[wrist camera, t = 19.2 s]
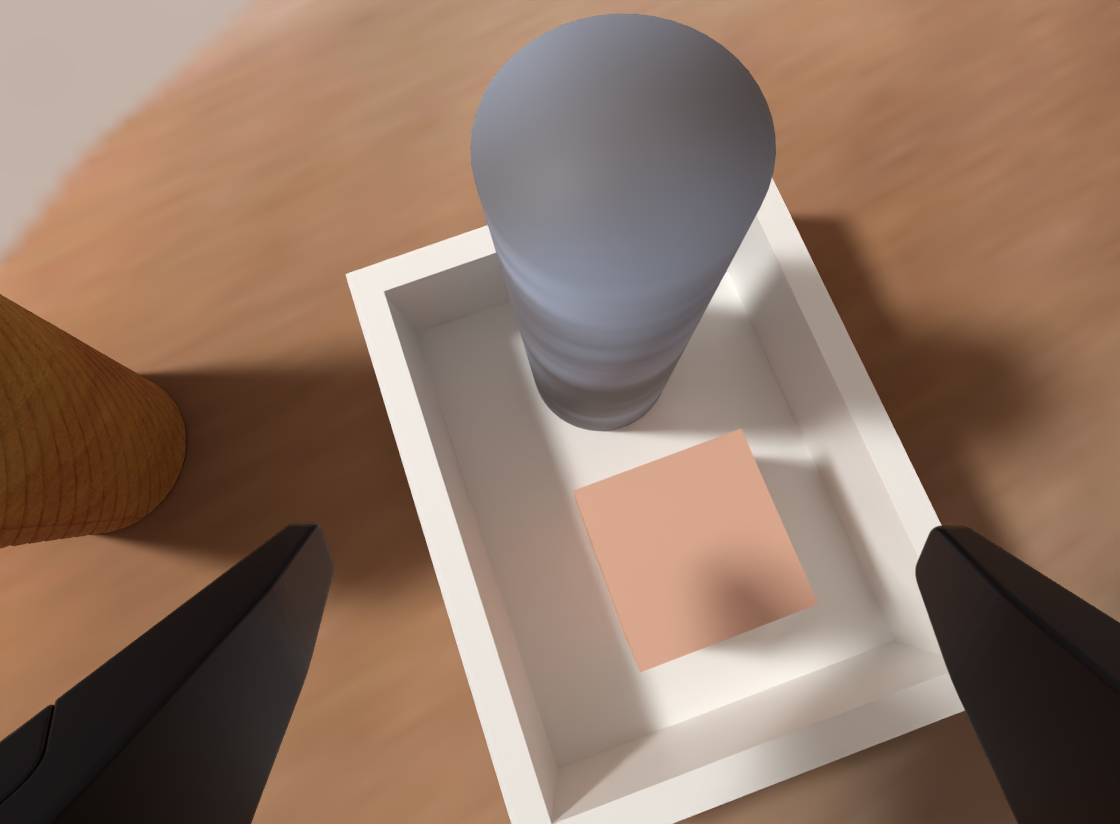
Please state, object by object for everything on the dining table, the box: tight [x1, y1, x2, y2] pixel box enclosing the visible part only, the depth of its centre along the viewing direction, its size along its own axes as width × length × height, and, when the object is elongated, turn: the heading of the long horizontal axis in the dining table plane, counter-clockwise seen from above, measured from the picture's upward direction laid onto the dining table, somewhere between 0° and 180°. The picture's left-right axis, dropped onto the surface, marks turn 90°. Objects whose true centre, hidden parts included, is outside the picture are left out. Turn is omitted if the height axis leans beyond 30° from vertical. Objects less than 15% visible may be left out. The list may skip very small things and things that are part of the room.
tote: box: [346, 179, 965, 824], centre depth 20 cm, size 18×14×5 cm
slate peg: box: [470, 14, 776, 431], centre depth 16 cm, size 5×5×13 cm
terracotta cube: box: [574, 429, 818, 672], centre depth 19 cm, size 5×5×5 cm
